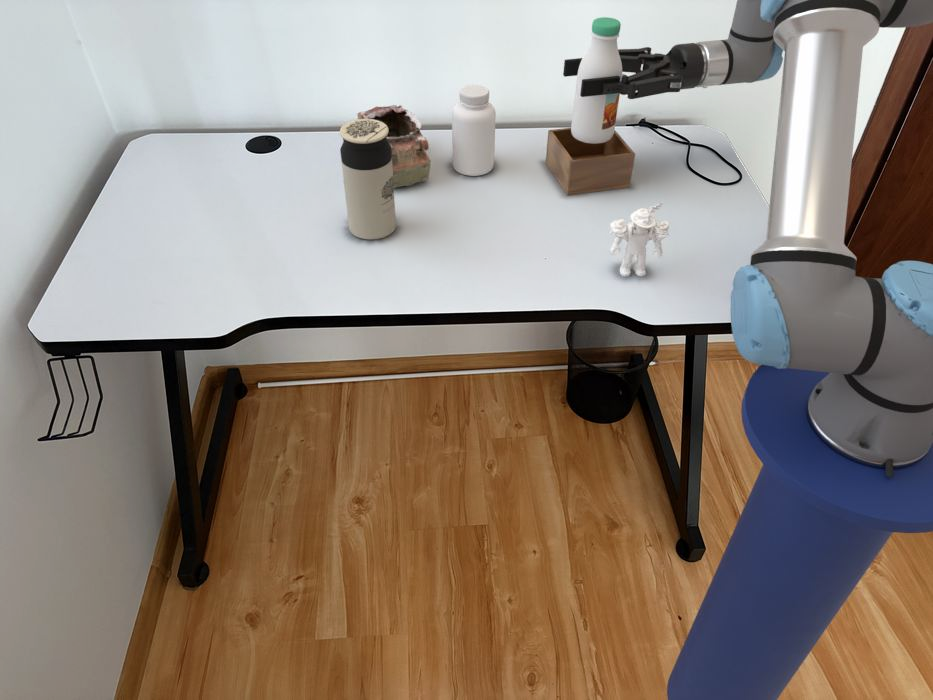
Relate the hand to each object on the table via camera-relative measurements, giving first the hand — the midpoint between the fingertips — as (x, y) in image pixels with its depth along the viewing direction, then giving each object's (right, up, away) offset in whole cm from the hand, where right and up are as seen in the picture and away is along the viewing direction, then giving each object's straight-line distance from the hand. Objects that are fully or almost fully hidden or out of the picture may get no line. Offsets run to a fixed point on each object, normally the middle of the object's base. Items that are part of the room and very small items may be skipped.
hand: (573, 78), depth 129 cm
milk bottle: (+5, -7, +9) cm, 12 cm away
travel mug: (-34, -26, 0) cm, 43 cm away
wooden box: (+4, -13, +14) cm, 20 cm away
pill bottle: (-17, -11, +16) cm, 26 cm away
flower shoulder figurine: (+8, -34, -8) cm, 36 cm away
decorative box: (-33, -11, +16) cm, 39 cm away
